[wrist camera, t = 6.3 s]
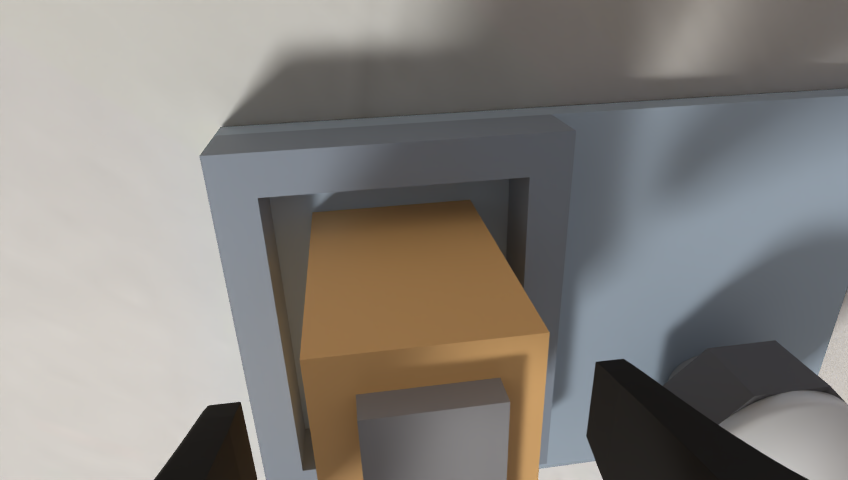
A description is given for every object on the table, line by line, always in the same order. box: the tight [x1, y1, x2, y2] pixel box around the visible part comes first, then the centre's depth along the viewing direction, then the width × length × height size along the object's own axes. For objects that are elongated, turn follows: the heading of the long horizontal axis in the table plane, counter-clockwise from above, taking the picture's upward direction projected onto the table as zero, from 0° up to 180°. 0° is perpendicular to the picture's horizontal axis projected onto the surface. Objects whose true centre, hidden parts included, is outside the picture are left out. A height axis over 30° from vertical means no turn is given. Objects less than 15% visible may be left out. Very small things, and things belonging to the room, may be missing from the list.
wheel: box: [663, 340, 848, 480], centre depth 16 cm, size 5×5×3 cm
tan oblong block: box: [300, 200, 550, 480], centre depth 13 cm, size 4×6×7 cm, turn 2°
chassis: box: [200, 88, 848, 480], centre depth 16 cm, size 18×12×3 cm, turn 92°
